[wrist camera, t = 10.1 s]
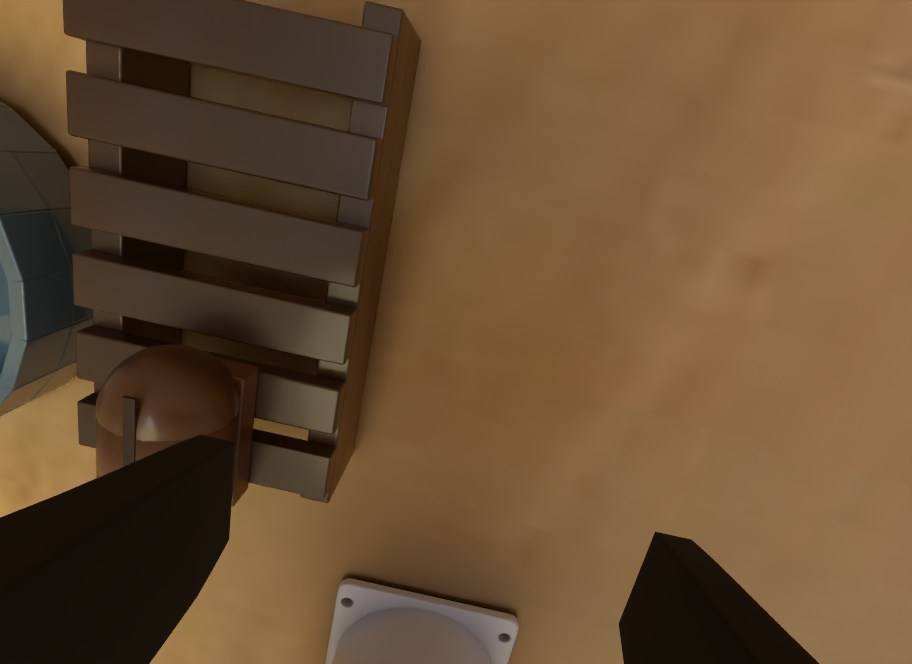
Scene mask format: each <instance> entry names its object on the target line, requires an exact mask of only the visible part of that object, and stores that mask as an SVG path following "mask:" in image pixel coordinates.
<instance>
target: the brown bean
mask: <svg viewBox="0 0 912 664" xmlns="http://www.w3.org/2000/svg"><path fill="white" fill-rule="evenodd" d="M257 379H258V367H256V366H252V365H247V364H243V363H239V362H234V361H230V360H225V359H221V358H216V357H214V356H212V355H211V354H209V353H207V352H206V351H204V350H201V349H198V348H195V347H191V346H187V345H180V344H166V345H158V344H154V345H152V346H150V347H149V348H147V349H143V350H141V351H139V352H137V353H135V354H133V355H131V356H129V357H128V358H126V359H125V360H123V361H122V362H121V363H120V364H119V365H118V366H116V367H115V368H114V369H113V370H112V371H111V373H110V374H109V375H108V377H107V378H106V380H105V381H104V382H103V385H102V387H101V390H100V392H99V395H98V397H97V401H96V410H95V427H96V467H97V478H99V477H101V476H103V475H106V474H108V473H110V472H113V471H115V470H117V469H119V468H122V467H124V466H126V465H129V464H131V463H133V462H135V461H138V460H140V459H142V458H145V457H147V456H149V455H151V454H154V453H156V452H158V451H161V450H163V449H165V448H167V447H170V446H172V445H175V444H177V443H179V442H182V441H184V440H187V439H189V438H192V437H195V436H197V435H205V436H210V437H214V438H219V439H224V440H228V441H233V442H235V454H234V470H233V485H232V501H231V506H234V505H235V504H236V503H237V501H238V500H239V499H240V497H241V496H242V495H243V494H244V492H245V491H246V490H247V488H248V479H249V468H250V457H251V446H252V435H253V424H254V412H255V401H256V390H257Z"/></svg>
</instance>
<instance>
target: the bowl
mask: <svg viewBox="0 0 912 664" xmlns="http://www.w3.org/2000/svg"><path fill="white" fill-rule="evenodd" d="M87 250H91V229H89V228H85V227H80V226H76V225H73V224H72V223H71V206H70V179H69V170H68V168H67V166H66V165H65V163H64V162H63V160H62V159H61V157H60V155H59V154H57V151H56V150H55V149H54V148H53V147H52V146H51V145H50V144H49V143H48V142H47V141H45V140H44V139H43V138H42V137H41V136H40V135H39V134H38V133H37V132H36V131H35V130H34V129H33V128H32V127H31V126H30V125H29V124H28V123H27V122H26V121H25V120H24V119H23V118H22V117H21V116H20V115H19V114H18V113H16V112H15V111H14V110H13V109H12V108H10V107H9V106H8V105H6V104H4V103H2V102H1V101H0V416H2V415H4V414H6V413H8V412H10V411H12V410H14V409H16V408H18V407H20V406H22V405H24V404H26V403H28V402H30V401H32V400H34V399H36V398H38V397H40V396H42V395H44V394H46V393H48V392H50V391H52V390H54V389H56V388H58V387H60V386H62V385H64V384H65V383H67V382H69V380H70V379H71V378H72V377H73V376H74V375H75V374H76V373H77V362H76V334H75V333H76V331H78V330H81V329H83V328H86V327H89V326H93V309H89V308H85V307H80V306H76V305H74V290H73V263H72V254H73V253H77V252H82V251H87Z"/></svg>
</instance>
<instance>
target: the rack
mask: <svg viewBox="0 0 912 664" xmlns="http://www.w3.org/2000/svg"><path fill="white" fill-rule="evenodd" d="M63 20H64V33H65V34H66V35H68V36H72V37H75V38H78V39H81V40H85V41H86V64H87V74H85V73H80V72H76V71H71V70H69V71H66V89H67V116H68V133H69V134H70V135H72V136H76V137H80V138H85V139H88V145H89V167H70V168H69V179H70V206H71V223H72V224H73V225H76V226H80V227H85V228H89V229H91V250H87V251H82V252H77V253H73V254H72V263H73V290H74V305H76V306H80V307H85V308H89V309H93V326H89V327H86V328H83V329H81V330H78V331H76V333H75V334H76V362H77V377H78V378H80V379H84V380H89V381H93V382H94V388H95V393H92V394H91V395H89V396H87V397H85V398H83V399H82V400H80V401H78V430H79V444H80V445H84V446H88V447H93V448H96V427H95V410H96V401H97V397H98V395H99V392H100V390H101V387H102V385H103V382H104V381H105V380H106V378H107V377H108V375H109V374H110V373H111V371H112V370H113V369H114V368H115V367H116V366H118V365H119V364H120V363H121V362H122V361H123V360H125V359H126V358H128V357H129V356H131V355H133V354H135V353H137V352H139V351H141V350H143V349H147V348H149V347H150V346H152V345H154V344H158V345H166V344H180V336H181V329H183V330H188V331H192V332H197V333H201V334H206V335H210V336H215V337H219V338H224V339H228V340H233V341H237V342H242V343H246V344H251V345H255V346H260V347H264V348H269V349H273V350H278V351H282V352H287V353H291V354H295V355H300V356H304V357H309V358H313V359H318V365H317V373H316V375H313V374H308V373H304V372H299V371H295V370H290V369H286V368H281V367H277V366H272V365H268V364H263V363H259V362H254V361H250V360H245V359H241V358H236V357H232V356H227V355H223V354H218V353H214V352H209V351H206V352H207V353H209V354H211V355H212V356H214V357H216V358H221V359H225V360H230V361H234V362H239V363H243V364H247V365H252V366H256V367H258V379H257V390H256V401H255V412H254V418H259V419H263V420H268V421H272V422H277V423H281V424H286V425H290V426H295V427H299V428H304V429H308V430H309V435H308V441H306V440H302V439H297V438H293V437H288V436H284V435H279V434H275V433H270V432H266V431H261V430H257V429H253V435H252V446H251V457H250V468H249V479H248V482H249V483H253V484H258V485H262V486H267V487H271V488H276V489H280V490H285V491H289V492H294V493H298V494H301V497H302V498H307V499H311V500H316V501H320V502H325V503H328V502H329V501H330V499H331V497H332V494H333V492H334V490H335V488H336V486H337V484H338V482H339V480H340V478H341V476H342V474H343V472H344V470H345V468H346V466H347V464H348V462H349V460H350V458H351V456H352V454H353V450H354V444H355V438H356V432H357V426H358V420H359V413H360V407H361V401H362V395H363V389H364V383H365V377H366V371H367V365H368V359H369V353H370V347H371V341H372V335H373V329H374V323H375V316H376V310H377V304H378V298H379V292H380V286H381V280H382V274H383V268H384V262H385V256H386V250H387V244H388V238H389V232H390V226H391V219H392V213H393V207H394V201H395V195H396V189H397V183H398V177H399V171H400V165H401V159H402V153H403V147H404V141H405V135H406V129H407V122H408V116H409V110H410V104H411V98H412V92H413V86H414V80H415V74H416V68H417V62H418V56H419V50H420V44H421V40H420V38H419V37H418V35H417V33H416V31H415V30H414V28H413V26H412V24H411V23H410V21H409V19H408V18H407V16H406V14H405V12H404V11H403V10H402V9H399V8H394V7H390V6H385V5H381V4H376V3H372V2H365V5H364V13H363V20H362V27H361V26H356V25H352V24H347V23H343V22H338V21H334V20H329V19H325V18H320V17H316V16H311V15H306V14H302V13H297V12H293V11H288V10H284V9H279V8H275V7H270V6H266V5H261V4H257V3H252V2H247V1H243V0H63ZM190 64H193V65H198V66H202V67H207V68H211V69H216V70H220V71H225V72H229V73H234V74H238V75H243V76H247V77H252V78H256V79H261V80H265V81H270V82H275V83H279V84H284V85H288V86H293V87H297V88H302V89H306V90H311V91H315V92H320V93H324V94H329V95H333V96H338V97H342V98H347V99H351V100H352V105H351V112H350V120H349V128H348V132H347V131H342V130H338V129H333V128H329V127H324V126H320V125H315V124H311V123H306V122H302V121H297V120H293V119H288V118H284V117H279V116H275V115H270V114H266V113H261V112H257V111H252V110H247V109H243V108H238V107H234V106H229V105H225V104H220V103H216V102H211V101H207V100H202V99H198V98H193V97H189V77H190ZM187 161H188V162H193V163H197V164H202V165H206V166H211V167H216V168H220V169H225V170H229V171H234V172H238V173H243V174H247V175H252V176H256V177H261V178H265V179H270V180H274V181H279V182H283V183H288V184H292V185H297V186H301V187H306V188H310V189H315V190H319V191H324V192H328V193H333V194H337V195H340V197H339V204H338V212H337V220H336V222H335V221H331V220H326V219H322V218H317V217H313V216H308V215H304V214H299V213H295V212H290V211H286V210H281V209H277V208H272V207H268V206H263V205H259V204H254V203H250V202H245V201H241V200H236V199H232V198H227V197H223V196H218V195H214V194H209V193H205V192H200V191H196V190H191V189H187V188H186V163H187ZM183 250H188V251H193V252H197V253H202V254H206V255H211V256H215V257H220V258H224V259H229V260H233V261H238V262H242V263H247V264H251V265H256V266H260V267H265V268H269V269H274V270H278V271H283V272H287V273H292V274H296V275H301V276H305V277H310V278H314V279H319V280H323V281H328V289H327V296H326V302H322V301H318V300H313V299H309V298H304V297H300V296H295V295H291V294H286V293H282V292H277V291H273V290H268V289H264V288H259V287H255V286H250V285H246V284H241V283H237V282H232V281H228V280H223V279H219V278H214V277H210V276H205V275H201V274H196V273H192V272H187V271H183ZM204 351H205V350H204Z"/></svg>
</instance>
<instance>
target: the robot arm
mask: <svg viewBox="0 0 912 664" xmlns="http://www.w3.org/2000/svg"><path fill="white" fill-rule="evenodd" d="M234 454H235V442H233V441H228V440H224V439H219V438H214V437H210V436H205V435H197V436H195V437H192V438H189V439H187V440H184V441H182V442H179V443H177V444H175V445H172V446H170V447H167V448H165V449H163V450H161V451H158V452H156V453H154V454H151V455H149V456H147V457H145V458H142V459H140V460H138V461H135V462H133V463H131V464H129V465H126V466H124V467H122V468H119V469H117V470H115V471H113V472H110V473H108V474H106V475H103V476H101V477H99V478H96V479H94V480H92V481H89V482H87V483H85V484H82V485H80V486H78V487H75V488H73V489H71V490H69V491H66V492H64V493H61V494H59V495H57V496H54V497H51V498H49V499H46V500H44V501H41V502H39V503H36V504H34V505H31V506H29V507H26V508H24V509H21V510H19V511H16V512H14V513H11V514H8V515H6V516H3V517H1V518H0V664H149V663H150V662H151V660H152V659H153V658H154V656H155V655H156V654H157V652H158V651H159V649H160V648H161V647H162V645H163V644H164V642H165V641H166V640H167V638H168V637H169V635H170V634H171V633H172V631H173V630H174V628H175V627H176V626H177V624H178V623H179V621H180V620H181V619H182V617H183V616H184V614H185V613H186V612H187V610H188V609H189V607H190V606H191V605H192V603H193V602H194V600H195V599H196V597H197V596H198V594H199V592H200V591H201V589H202V587H203V585H204V584H205V582H206V580H207V578H208V577H209V575H210V573H211V572H212V570H213V568H214V566H215V564H216V562H217V561H218V559H219V557H220V555H221V553H222V551H223V550H224V548H225V546H226V544H227V542H228V540H229V531H230V516H231V501H232V485H233V470H234ZM346 598H349V599H351V600H348V599H346ZM518 628H519V627H518V620H517V618H516V617H515V616H513V615H511V614H508V613H503V612H499V611H494V610H490V609H485V608H481V607H477V606H472V605H468V604H463V603H459V602H454V601H450V600H445V599H441V598H436V597H432V596H428V595H423V594H419V593H414V592H410V591H405V590H401V589H396V588H392V587H388V586H383V585H379V584H374V583H370V582H365V581H361V580H356V579H350V578H347V579H344V580H343V581H341V583H340V585H339V588H338V591H337V597H336V603H335V609H334V615H333V621H332V626H331V632H330V638H329V644H328V650H327V656H326V662H325V664H508V661H509V658H510V655H511V652H512V648H513V645H514V642H515V639H516V636H517V633H518ZM619 629H620V637H621V644H622V652H623V660H624V664H819V663H818V662H817V661H816V660H815V659H814V658H813V657H812V656H811V655H810V654H809V653H808V652H807V651H806V650H805V649H804V648H803V647H802V646H801V645H800V644H799V643H798V642H796V641H795V640H794V639H793V638H792V637H791V636H790V635H789V634H788V633H787V632H786V631H785V630H784V629H783V628H782V627H781V626H780V625H779V624H778V623H777V622H776V621H775V620H774V619H773V618H772V617H771V616H770V615H769V614H768V613H767V612H766V611H765V610H764V609H763V608H762V607H761V606H760V605H759V604H758V603H757V602H756V601H755V600H754V599H753V598H752V597H751V596H750V595H749V594H748V593H747V592H746V591H745V590H744V589H743V588H742V587H741V586H740V585H739V584H738V583H737V582H736V581H735V580H734V579H733V578H732V577H731V576H730V575H729V574H728V573H727V572H726V571H725V570H724V569H723V568H722V567H721V566H720V565H719V564H718V563H716V562H715V561H714V560H713V559H712V558H711V557H710V556H709V555H708V554H707V553H706V552H705V551H704V550H703V549H701V548H700V547H699V546H698V545H697V544H696V543H695V542H693V541H692V540H691V539H686V538H682V537H677V536H672V535H668V534H663V533H658V532H655V534H654V536H653V539H652V541H651V544H650V546H649V549H648V551H647V554H646V556H645V559H644V561H643V564H642V566H641V569H640V571H639V574H638V576H637V579H636V581H635V584H634V586H633V589H632V592H631V594H630V597H629V599H628V602H627V604H626V607H625V609H624V612H623V614H622V617H621V619H620V622H619ZM502 633H506V635H505V634H502Z"/></svg>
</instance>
